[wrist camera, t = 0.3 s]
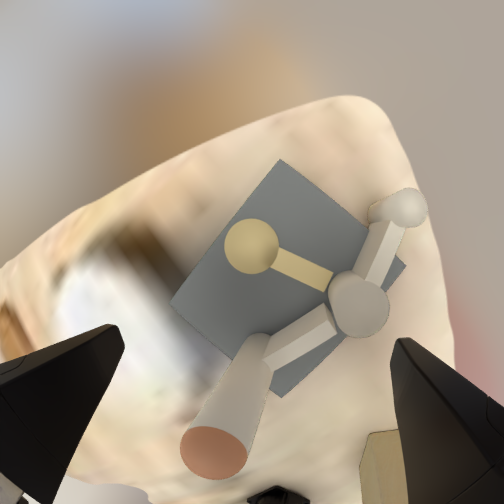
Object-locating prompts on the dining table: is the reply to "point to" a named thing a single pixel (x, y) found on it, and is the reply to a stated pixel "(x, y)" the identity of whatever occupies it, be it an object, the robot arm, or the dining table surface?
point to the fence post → (247, 396)
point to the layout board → (274, 269)
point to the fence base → (374, 264)
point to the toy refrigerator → (383, 470)
